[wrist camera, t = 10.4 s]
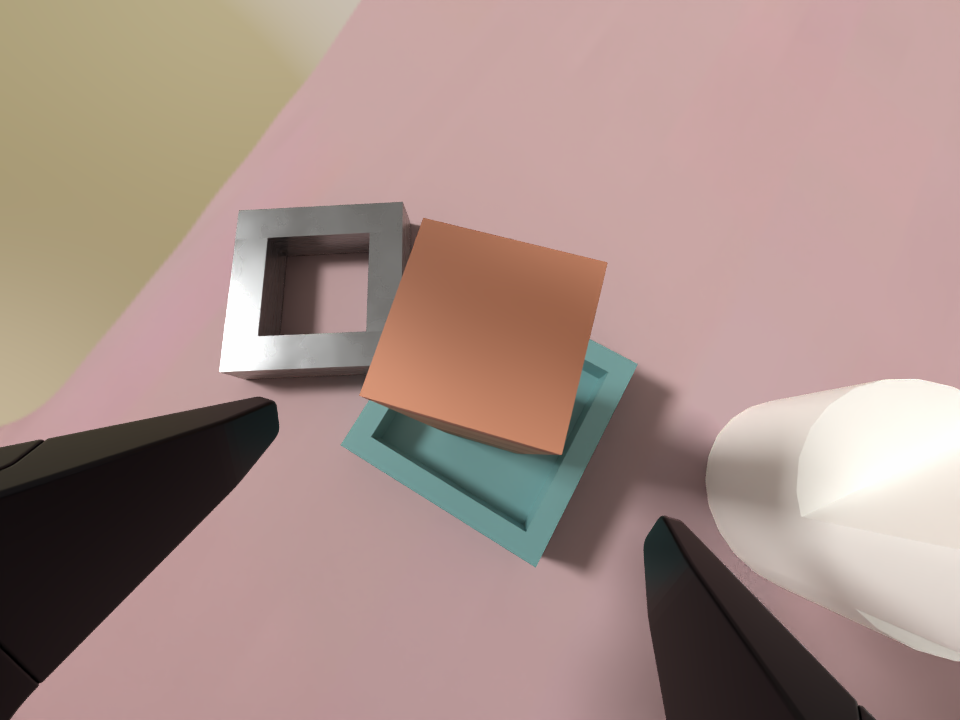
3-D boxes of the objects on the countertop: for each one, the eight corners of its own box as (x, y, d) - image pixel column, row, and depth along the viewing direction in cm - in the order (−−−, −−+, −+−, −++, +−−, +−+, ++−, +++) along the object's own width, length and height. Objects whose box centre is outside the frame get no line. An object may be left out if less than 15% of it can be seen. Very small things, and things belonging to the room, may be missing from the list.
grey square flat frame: (409, 372, 21) (400, 364, 19) (244, 379, 21) (219, 371, 19) (410, 222, 23) (402, 201, 21) (259, 230, 23) (238, 210, 21)
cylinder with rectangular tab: (825, 372, 20) (1271, 264, 9) (939, 546, 18) (1717, 708, 7) (671, 442, 20) (925, 426, 8) (770, 629, 18) (1297, 962, 6)
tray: (620, 374, 21) (637, 364, 18) (530, 552, 19) (535, 567, 16) (457, 288, 22) (453, 268, 20) (358, 446, 20) (340, 444, 18)
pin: (516, 453, 19) (561, 455, 6) (446, 432, 19) (358, 395, 7) (535, 383, 20) (607, 262, 7) (467, 364, 20) (423, 217, 8)
